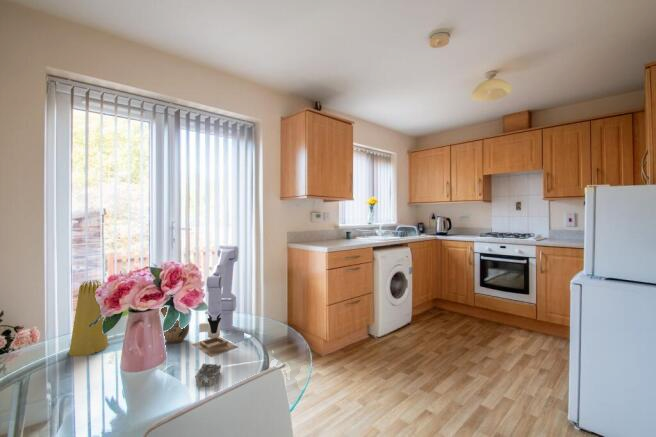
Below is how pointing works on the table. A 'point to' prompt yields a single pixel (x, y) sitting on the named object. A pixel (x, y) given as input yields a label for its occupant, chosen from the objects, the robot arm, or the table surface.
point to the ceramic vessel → (175, 331)
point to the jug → (206, 328)
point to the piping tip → (87, 323)
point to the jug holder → (214, 346)
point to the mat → (235, 336)
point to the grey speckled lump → (210, 370)
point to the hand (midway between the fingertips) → (214, 330)
